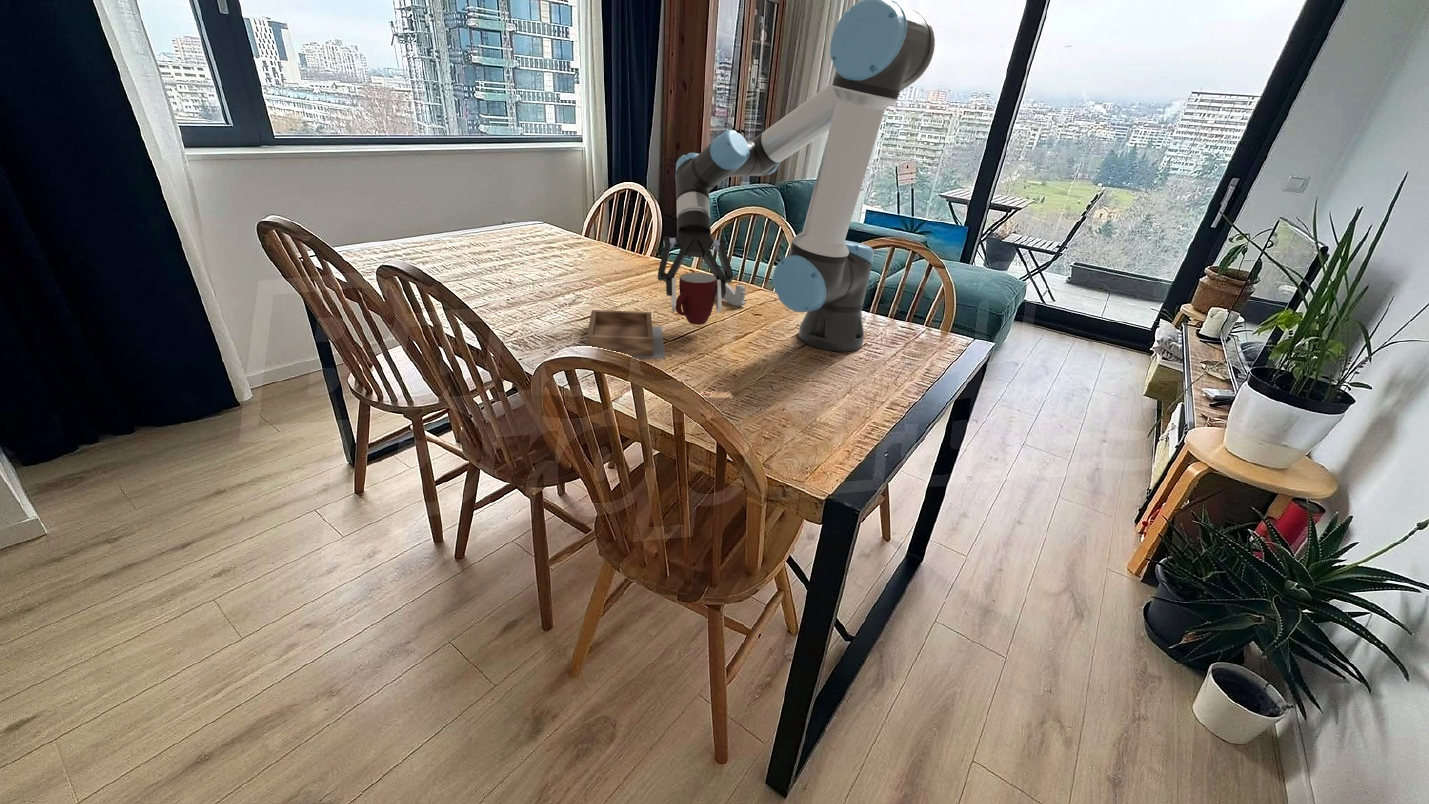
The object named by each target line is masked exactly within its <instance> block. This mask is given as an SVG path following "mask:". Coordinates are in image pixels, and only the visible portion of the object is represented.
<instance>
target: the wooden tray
mask: <svg viewBox="0 0 1429 804" xmlns="http://www.w3.org/2000/svg"><path fill="white" fill-rule="evenodd" d="M590 313H591V314H590V319H589V324H588V328H587V333H586V344H587V346H592V347H598V348H603V349H607V350H611V351H616V352H621V353H624V354H628V355H635V356H653V329H652V326H653V322H652V321H653V319H652V312H651V311H629V310H628V311H626V310H625V311H623V310H602V309H600V310H599V309H592V310H591V312H590Z"/></svg>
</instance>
